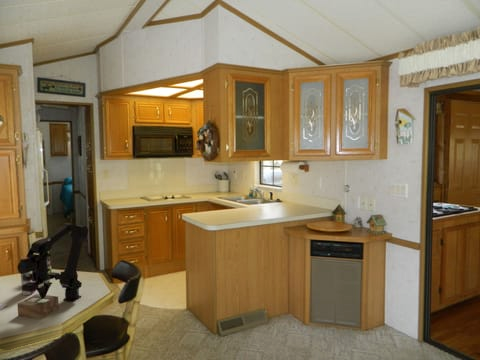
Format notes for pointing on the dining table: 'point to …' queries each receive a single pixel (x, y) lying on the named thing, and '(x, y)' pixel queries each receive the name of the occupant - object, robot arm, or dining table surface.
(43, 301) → the sage peg
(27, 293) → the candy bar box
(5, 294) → the dining table surface
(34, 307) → the walnut block
